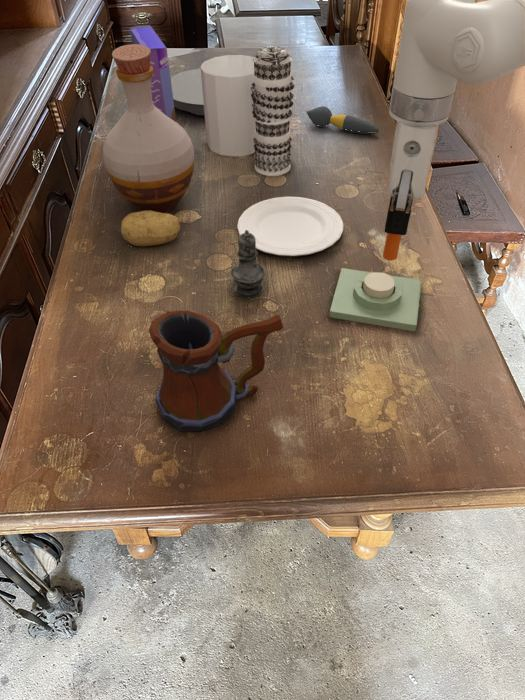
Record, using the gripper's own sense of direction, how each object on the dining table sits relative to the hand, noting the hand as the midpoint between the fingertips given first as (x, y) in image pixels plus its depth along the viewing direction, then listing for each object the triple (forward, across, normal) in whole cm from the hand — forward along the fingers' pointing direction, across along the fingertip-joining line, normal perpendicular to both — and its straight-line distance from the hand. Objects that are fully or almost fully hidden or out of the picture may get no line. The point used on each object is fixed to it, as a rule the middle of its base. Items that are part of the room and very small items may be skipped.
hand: (396, 226), depth 81 cm
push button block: (+15, 0, +1) cm, 15 cm away
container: (+16, +52, +42) cm, 68 cm away
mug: (+15, -27, +20) cm, 37 cm away
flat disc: (+16, +76, +56) cm, 96 cm away
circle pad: (+12, 0, +1) cm, 12 cm away
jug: (+16, +21, +50) cm, 56 cm away
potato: (+15, +7, +45) cm, 48 cm away
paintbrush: (+16, +66, +18) cm, 70 cm away
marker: (+6, 0, 0) cm, 6 cm away
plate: (+15, +17, +20) cm, 30 cm away
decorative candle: (+15, +42, +30) cm, 54 cm away
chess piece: (+15, -2, +23) cm, 28 cm away
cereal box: (+16, +48, +60) cm, 78 cm away
